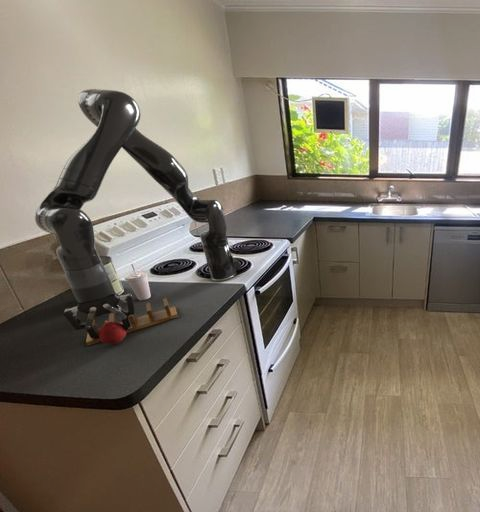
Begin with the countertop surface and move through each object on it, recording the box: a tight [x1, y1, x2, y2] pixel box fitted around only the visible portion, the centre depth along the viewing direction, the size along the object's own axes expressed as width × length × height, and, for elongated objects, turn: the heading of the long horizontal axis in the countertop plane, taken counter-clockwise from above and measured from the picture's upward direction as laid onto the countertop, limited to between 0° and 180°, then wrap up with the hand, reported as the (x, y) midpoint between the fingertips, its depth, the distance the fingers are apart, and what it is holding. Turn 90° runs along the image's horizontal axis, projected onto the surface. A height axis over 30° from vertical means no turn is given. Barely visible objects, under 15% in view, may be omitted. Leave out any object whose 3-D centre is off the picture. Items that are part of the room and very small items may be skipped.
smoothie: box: [124, 263, 152, 301], centre depth 105 cm, size 6×6×14 cm
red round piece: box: [98, 320, 127, 345], centre depth 82 cm, size 6×6×8 cm
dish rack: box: [85, 297, 179, 346], centre depth 90 cm, size 22×6×5 cm, turn 130°
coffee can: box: [99, 255, 125, 296], centre depth 107 cm, size 10×10×14 cm
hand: (112, 332), depth 82 cm, fingers closed on red round piece, 6 cm apart
